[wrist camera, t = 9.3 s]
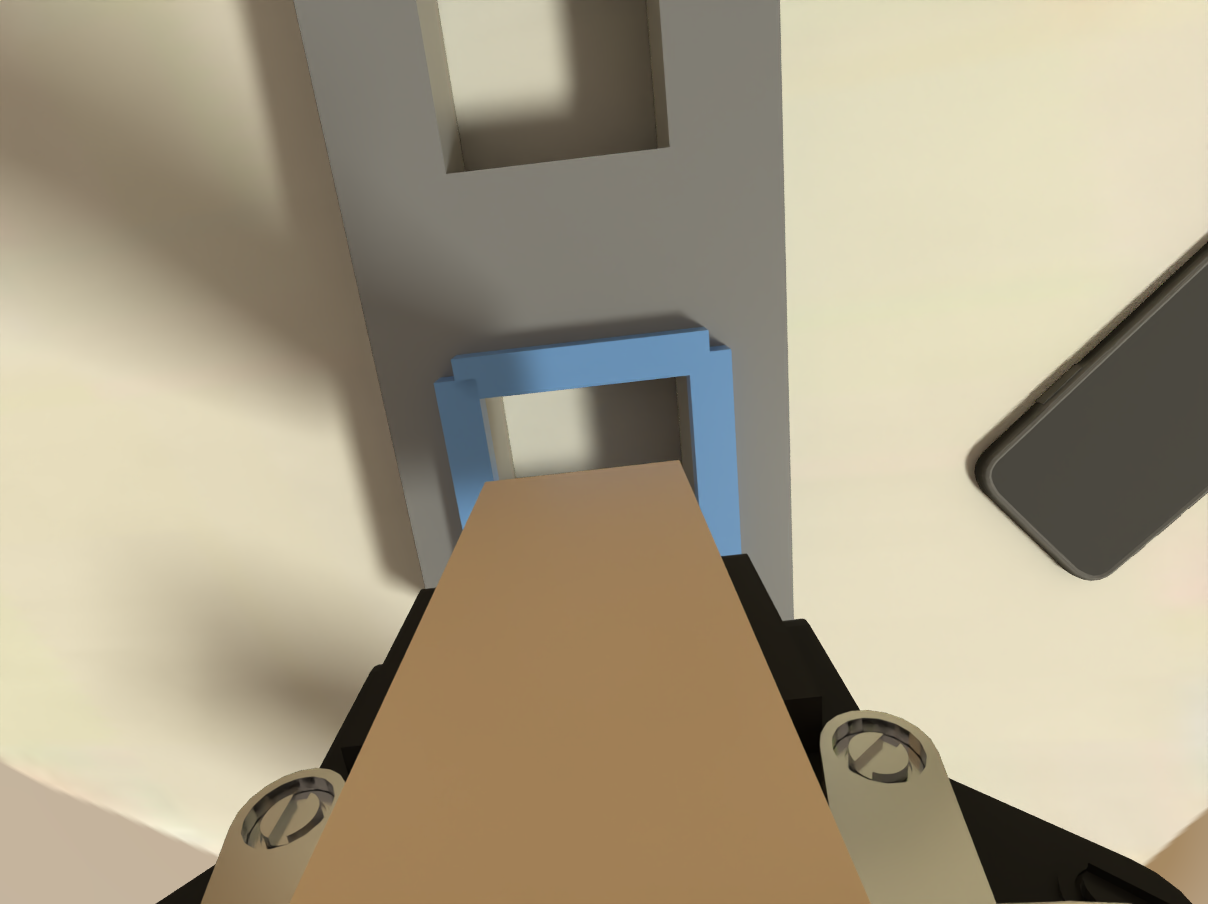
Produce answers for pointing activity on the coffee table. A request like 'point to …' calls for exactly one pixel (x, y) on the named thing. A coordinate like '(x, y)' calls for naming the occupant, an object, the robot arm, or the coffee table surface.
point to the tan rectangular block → (583, 723)
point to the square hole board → (570, 263)
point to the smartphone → (1114, 436)
